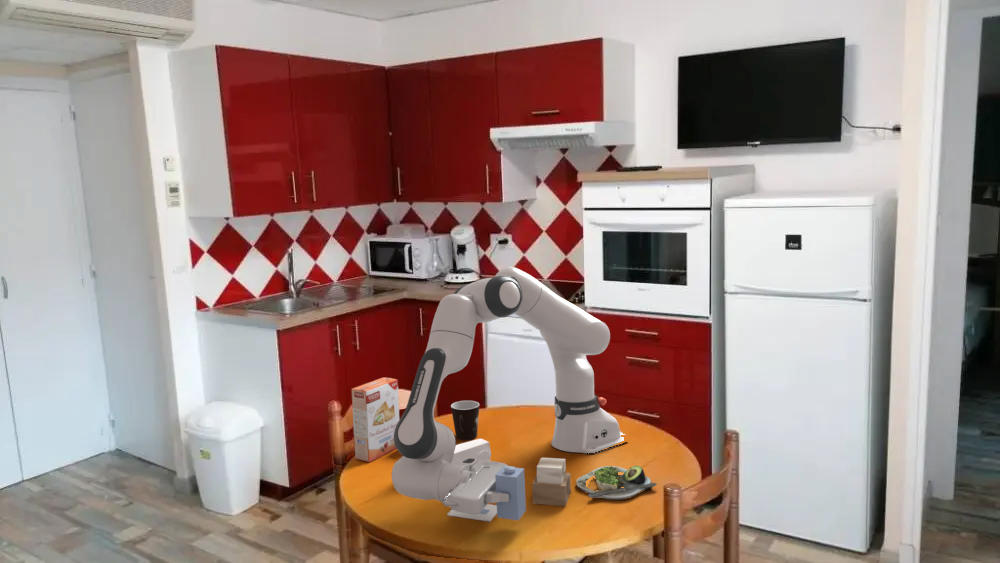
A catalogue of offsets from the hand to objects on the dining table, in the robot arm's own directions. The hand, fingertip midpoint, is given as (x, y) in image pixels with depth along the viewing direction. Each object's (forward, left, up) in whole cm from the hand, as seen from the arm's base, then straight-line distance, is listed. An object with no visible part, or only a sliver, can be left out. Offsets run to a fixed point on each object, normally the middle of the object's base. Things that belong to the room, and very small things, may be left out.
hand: (514, 491), depth 167 cm
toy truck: (+2, -39, -10) cm, 40 cm away
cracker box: (+15, -61, -9) cm, 63 cm away
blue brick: (+1, -1, -6) cm, 6 cm away
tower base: (-15, -10, -9) cm, 20 cm away
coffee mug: (-11, -60, -9) cm, 62 cm away
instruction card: (+5, -13, -9) cm, 16 cm away
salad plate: (-32, -9, -10) cm, 35 cm away
